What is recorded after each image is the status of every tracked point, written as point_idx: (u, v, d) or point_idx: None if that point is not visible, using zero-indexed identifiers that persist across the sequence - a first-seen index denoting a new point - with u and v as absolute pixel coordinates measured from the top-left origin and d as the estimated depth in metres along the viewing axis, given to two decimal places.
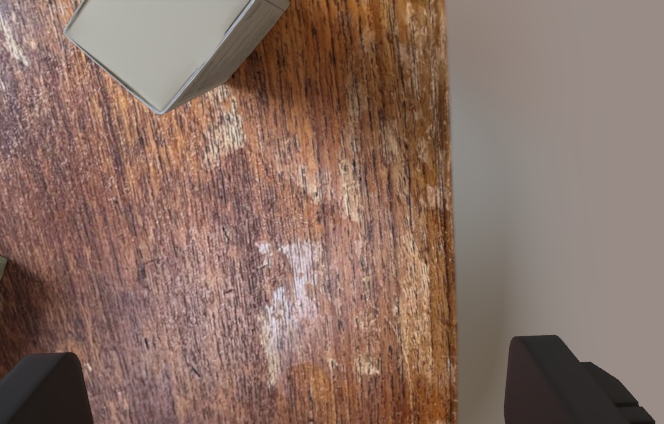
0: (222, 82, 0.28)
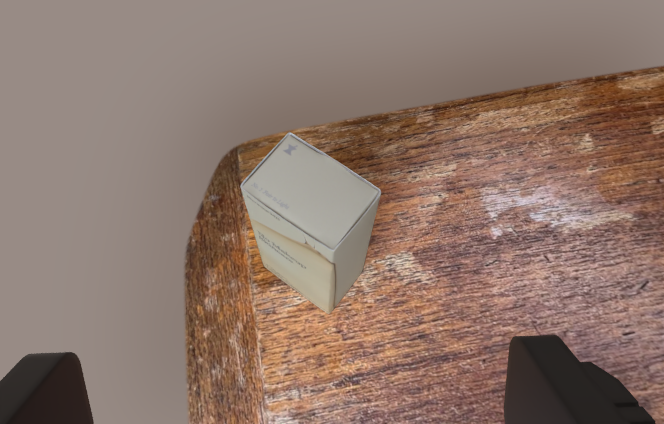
0: None
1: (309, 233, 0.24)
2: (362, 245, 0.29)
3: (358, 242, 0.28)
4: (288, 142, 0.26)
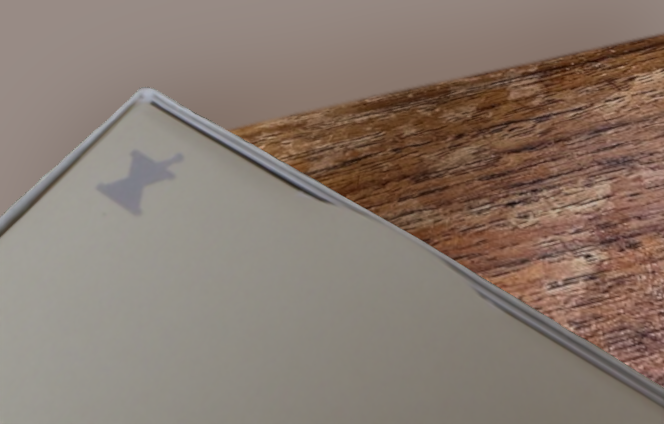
0: None
1: None
2: None
3: None
4: (133, 139, 0.05)
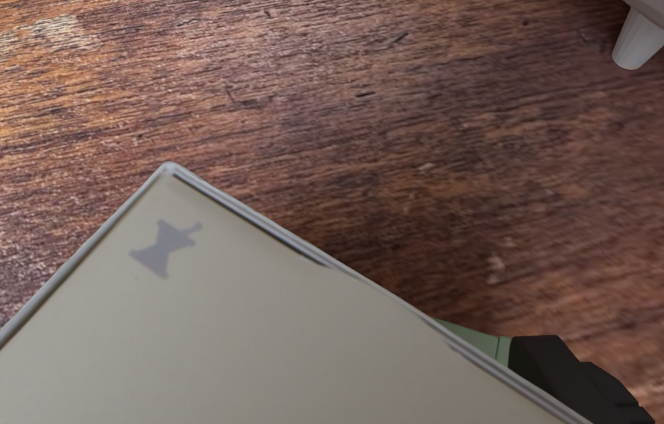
0: None
1: None
2: None
3: None
4: (158, 210, 0.06)
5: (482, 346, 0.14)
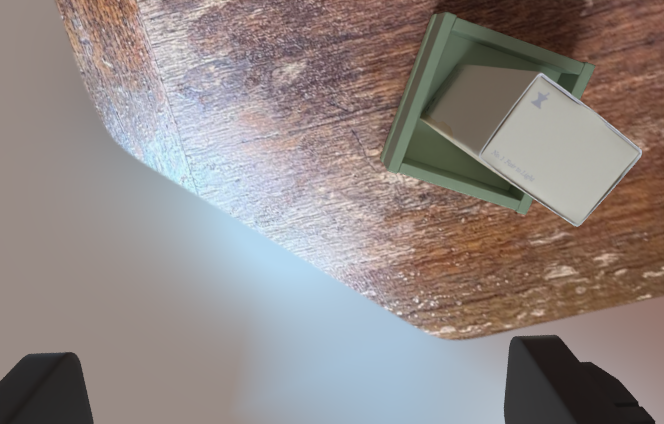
0: None
1: (553, 207, 0.22)
2: None
3: None
4: (537, 88, 0.20)
5: (575, 68, 0.30)
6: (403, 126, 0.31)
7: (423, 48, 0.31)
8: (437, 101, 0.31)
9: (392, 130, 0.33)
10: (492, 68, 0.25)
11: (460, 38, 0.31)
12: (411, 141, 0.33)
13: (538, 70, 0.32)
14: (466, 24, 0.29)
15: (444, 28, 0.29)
